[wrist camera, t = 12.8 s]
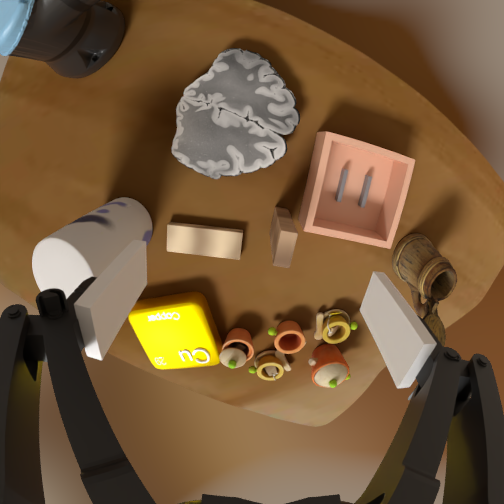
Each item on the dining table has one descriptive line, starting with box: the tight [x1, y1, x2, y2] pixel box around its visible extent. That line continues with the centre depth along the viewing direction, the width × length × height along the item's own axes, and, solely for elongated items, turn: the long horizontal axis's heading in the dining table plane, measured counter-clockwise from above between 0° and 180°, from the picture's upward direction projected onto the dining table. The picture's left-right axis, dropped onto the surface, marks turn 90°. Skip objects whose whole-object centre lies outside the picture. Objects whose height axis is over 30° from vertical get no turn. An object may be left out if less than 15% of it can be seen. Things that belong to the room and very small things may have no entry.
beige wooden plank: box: [167, 222, 243, 260], centre depth 46 cm, size 12×4×2 cm, turn 83°
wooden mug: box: [392, 233, 457, 347], centre depth 39 cm, size 9×14×18 cm, turn 162°
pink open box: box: [298, 131, 415, 249], centre depth 40 cm, size 14×14×6 cm
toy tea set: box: [219, 309, 358, 388], centre depth 50 cm, size 26×16×10 cm, turn 99°
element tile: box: [128, 291, 223, 370], centre depth 52 cm, size 15×15×5 cm
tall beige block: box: [270, 207, 298, 268], centre depth 40 cm, size 4×2×12 cm, turn 170°
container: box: [32, 197, 153, 299], centre depth 36 cm, size 10×10×20 cm
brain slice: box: [171, 48, 300, 179], centre depth 38 cm, size 20×17×3 cm
